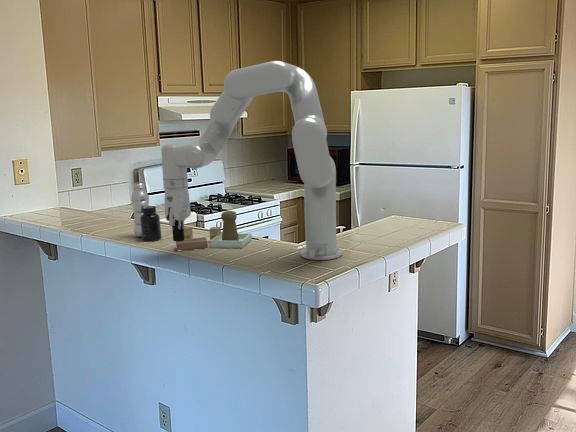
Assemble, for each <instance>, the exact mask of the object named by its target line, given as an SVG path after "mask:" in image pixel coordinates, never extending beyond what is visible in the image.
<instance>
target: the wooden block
mask: <svg viewBox="0 0 576 432" xmlns="http://www.w3.org/2000/svg"><path fill="white" fill-rule="evenodd" d="M175 247H177V248H176V251H178V250H189V251H195V250H194V249H199V250H206V249H205V248H208V249H209V247H208V240H207V238H206V237H205V236H204V237H193V238H191V239H184V240H183V241H175ZM178 252H179V251H178Z"/></svg>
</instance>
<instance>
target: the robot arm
mask: <svg viewBox="0 0 576 432" xmlns="http://www.w3.org/2000/svg"><path fill="white" fill-rule="evenodd" d="M223 81H224V82H223V88H224V90H223V91H222V92H221V94H220V95H219V97H218V98H217V99H216V102H215V103H214V104H213V106H212V107H211V109H210V112H209V123H208V125H207V127H206V129H205V131H204V132H203V134H202V136H201V137H200V139H199V140H198V142H196V143H191V144H187V145H184V144H181V143H168V144H163V145H162V146H161V149H160V151H161V168H162V181H163V184H162V185H163V186H162V187H163V190H164V217H165V220H166V221H168V225H169V226H170V227H171V230H172V241H173V242H176V241H183V240H184V227H185V221H186V219H188V218H189V217H190V216H191V210H192V209H191V201H190V194H189V193H190V192H189V189H188V188H189V183H188V181H189V180H188V169H200V168H203V167H205V166H208V165H210V164H211V163H213V162H214V160H215V159H216V157H218V155H219V153H220V152H221V151H222V149H223V147H224V146H225V145H226V143H227V141H228V139H229V137H230V136H231V134H232V132H233V130H234V128H235V126H236V124H237V123H238V122H239V120H240V119H241V117H242V116H243V114H244V112H245V111H246V109H247V108H248V107H249V106H250V104H251V102H252V101H253V99H254V98H255V97H258V96H264V95H268V94H272V93H277V92H278V93H286V94H287V95H288V97H289V100H290V101H289V102H290V106H291V107H290V108H291V112H292V115H293V120H294V125H293V128H292V130H291V141H292V142H291V143H292V146H293V150H294V155H295V160H296V164H297V169H298V172H299V177H300V179H301V180H302V182H303V183H304V184H303V185H304V186H303V188H304V191H303V196H304V228H305V230H304V231H305V233H304V234H305V248H304V249H302V250H301V251H300V256H301V257H302V258H304V259H307V260H312V261H326V260H329V261H330V260H334V259H337V258H339V257H341V256H342V255H343V251H342V250H341V249H340V248H338V244H337V241H338V240H337V196H336V194H337V192H336V191H337V190H336V189H337V169H336V163H335V161H334V159H333V158H332V156H331V155H330V151H329V146H328V142H327V141H328V140H327V137H328V130H327V127H326V123H325V119H324V115H323V111H322V106H321V103H320V98H319V93H318V90H317V87H316V84H315V82H314V80H313V78H312V77H311V75H310V74H309V73H308V72H307V71H306V70H304V69H303V68H301V67H299V66H297V65H294V64H291V63H287V62H285V61H281V60H271V61H268V62H267V61H266V62H262V63H258V64H254V65H250V66H246V67H242V68H237V69H233V70H231V71H229V73H228V74H227V75H226V76H225V78H224V80H223Z"/></svg>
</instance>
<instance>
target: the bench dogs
mask: <svg viewBox="0 0 576 432" xmlns="http://www.w3.org/2000/svg"><path fill="white" fill-rule="evenodd" d="M221 228H222V227H221V226H212V227H210V228H209V241H210V240H212V239H213V238H215V237H216V236H219V235H220V234H221V233H222V231H221V230H222V229H221ZM191 238H194V233H193V226H184V239H191Z"/></svg>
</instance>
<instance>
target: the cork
mask: <svg viewBox="0 0 576 432" xmlns="http://www.w3.org/2000/svg"><path fill="white" fill-rule="evenodd" d="M237 216H238V215H237V213H236V211H233V210H225V211H223V212H222V213H221V216H220V217H221V221H222V231H221V233H222V240H227V241H239V238H238V233H239V232H238V228H237V222H236V220H237V218H238V217H237Z"/></svg>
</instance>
